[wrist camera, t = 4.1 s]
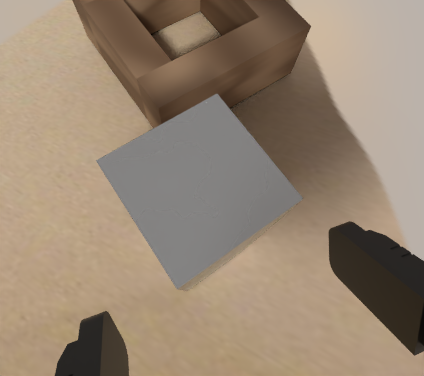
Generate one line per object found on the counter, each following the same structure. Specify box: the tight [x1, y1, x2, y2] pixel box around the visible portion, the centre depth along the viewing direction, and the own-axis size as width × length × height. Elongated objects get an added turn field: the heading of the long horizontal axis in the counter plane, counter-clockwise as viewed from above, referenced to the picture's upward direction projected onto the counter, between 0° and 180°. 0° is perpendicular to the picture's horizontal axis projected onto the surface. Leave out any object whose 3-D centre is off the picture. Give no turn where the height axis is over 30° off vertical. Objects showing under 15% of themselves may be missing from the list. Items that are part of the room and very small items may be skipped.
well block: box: [73, 0, 311, 128], centre depth 22 cm, size 12×12×4 cm
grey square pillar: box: [96, 94, 303, 291], centre depth 14 cm, size 4×4×11 cm
